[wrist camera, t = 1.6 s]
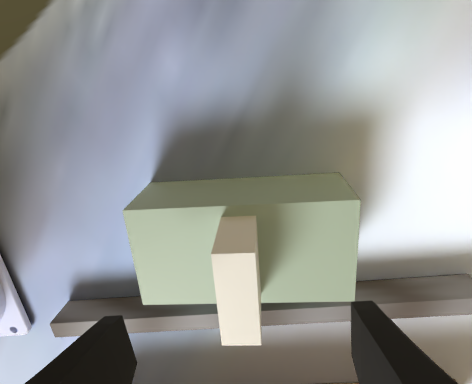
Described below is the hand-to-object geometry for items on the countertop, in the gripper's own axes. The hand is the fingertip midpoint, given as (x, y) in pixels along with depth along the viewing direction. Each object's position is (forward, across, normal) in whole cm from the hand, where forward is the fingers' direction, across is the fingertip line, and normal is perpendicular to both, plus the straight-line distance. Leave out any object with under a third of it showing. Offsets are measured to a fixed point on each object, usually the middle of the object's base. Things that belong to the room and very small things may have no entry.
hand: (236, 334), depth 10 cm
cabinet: (+8, 0, 0) cm, 9 cm away
